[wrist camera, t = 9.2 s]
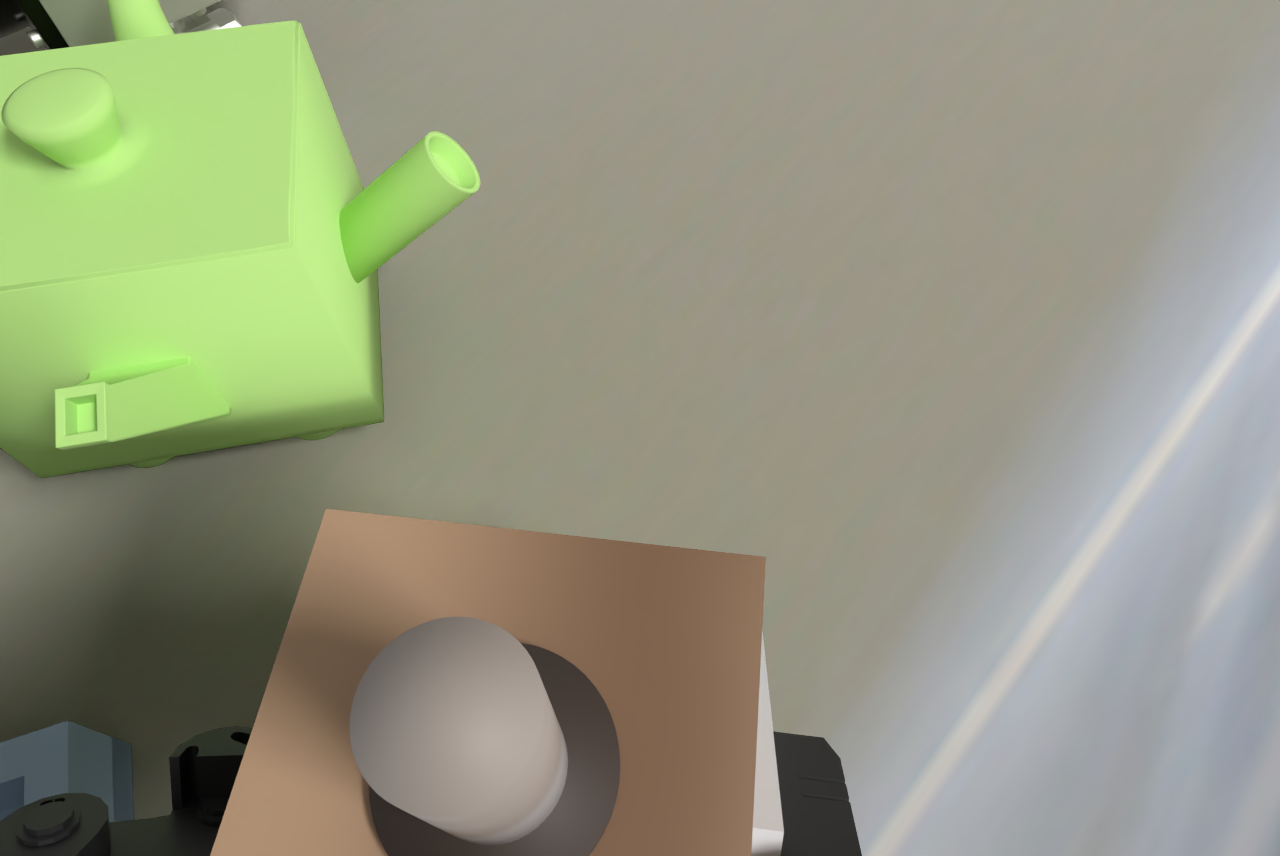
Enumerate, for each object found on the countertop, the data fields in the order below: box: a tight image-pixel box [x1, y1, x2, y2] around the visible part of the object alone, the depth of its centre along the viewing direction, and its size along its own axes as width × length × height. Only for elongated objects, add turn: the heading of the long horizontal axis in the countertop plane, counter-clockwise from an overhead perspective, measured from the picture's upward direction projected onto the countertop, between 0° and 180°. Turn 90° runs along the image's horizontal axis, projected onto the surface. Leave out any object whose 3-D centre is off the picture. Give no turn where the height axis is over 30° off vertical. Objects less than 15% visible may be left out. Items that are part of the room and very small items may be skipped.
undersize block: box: [210, 509, 766, 856], centre depth 12 cm, size 5×5×14 cm
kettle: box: [0, 0, 480, 478], centre depth 26 cm, size 15×14×11 cm
